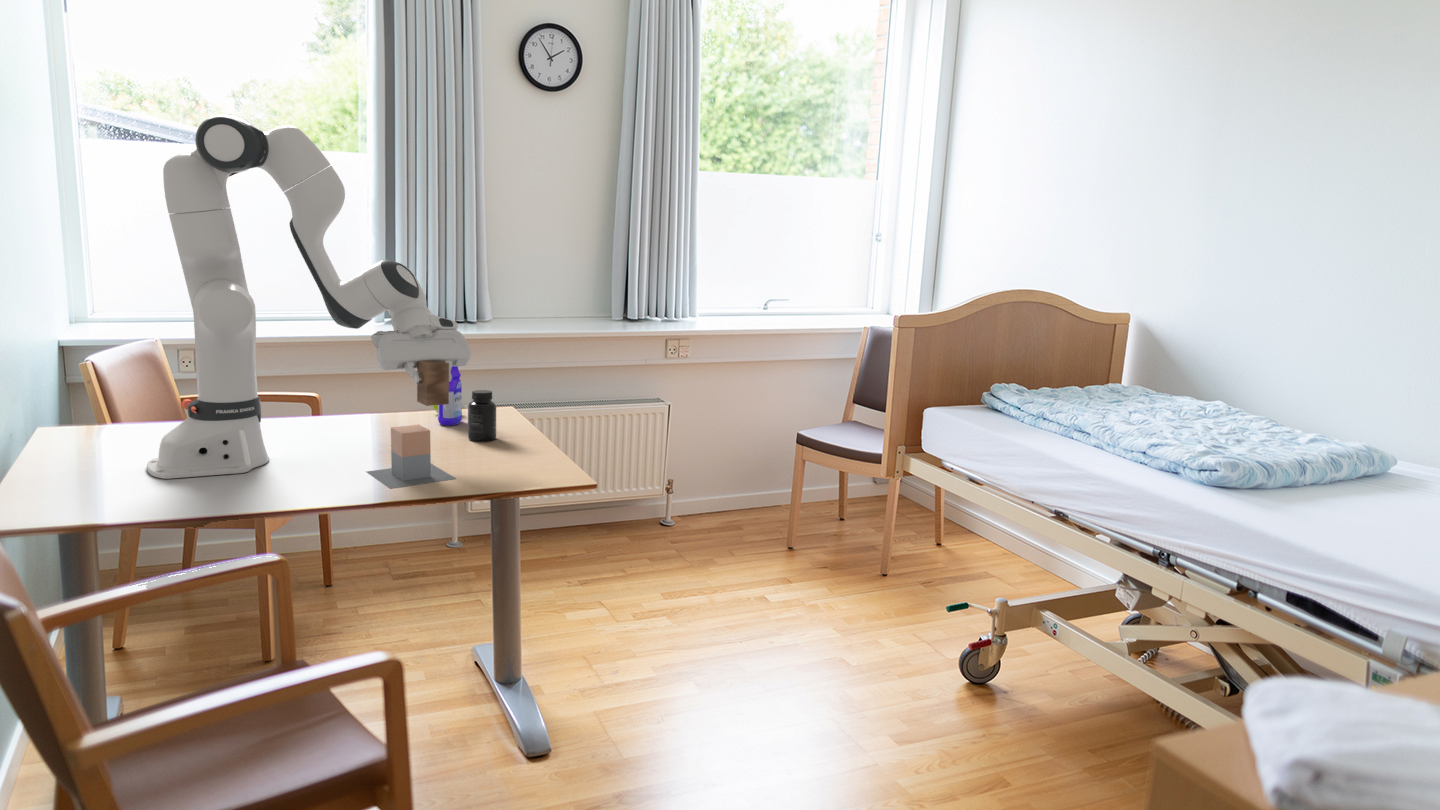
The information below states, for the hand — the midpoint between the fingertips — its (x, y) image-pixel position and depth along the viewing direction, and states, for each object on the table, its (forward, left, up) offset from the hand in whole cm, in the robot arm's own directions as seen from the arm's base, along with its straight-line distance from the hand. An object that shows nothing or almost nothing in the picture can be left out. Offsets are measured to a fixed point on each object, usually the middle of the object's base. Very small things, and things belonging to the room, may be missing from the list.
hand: (434, 381), depth 199 cm
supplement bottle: (+19, +16, -19) cm, 32 cm away
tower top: (-8, -7, -13) cm, 17 cm away
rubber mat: (-8, -7, -19) cm, 21 cm away
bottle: (+19, +35, -19) cm, 44 cm away
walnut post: (0, +1, -5) cm, 5 cm away
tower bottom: (-8, -7, -18) cm, 21 cm away
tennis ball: (+22, +45, -19) cm, 54 cm away
